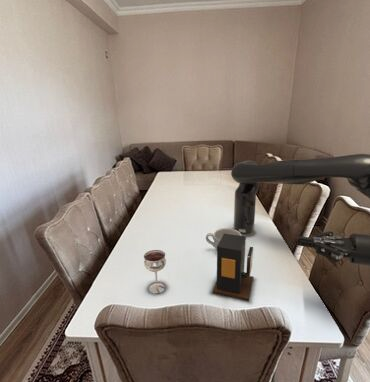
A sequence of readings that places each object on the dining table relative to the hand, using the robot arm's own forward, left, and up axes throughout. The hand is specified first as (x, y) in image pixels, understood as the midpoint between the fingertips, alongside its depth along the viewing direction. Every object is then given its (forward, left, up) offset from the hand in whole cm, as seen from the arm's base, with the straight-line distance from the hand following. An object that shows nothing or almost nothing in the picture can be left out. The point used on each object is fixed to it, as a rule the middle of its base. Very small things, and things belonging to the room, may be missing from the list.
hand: (297, 240), depth 68 cm
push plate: (0, -12, -13) cm, 18 cm away
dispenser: (0, -18, -19) cm, 26 cm away
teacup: (-20, -25, -19) cm, 37 cm away
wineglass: (+9, -40, -19) cm, 45 cm away
